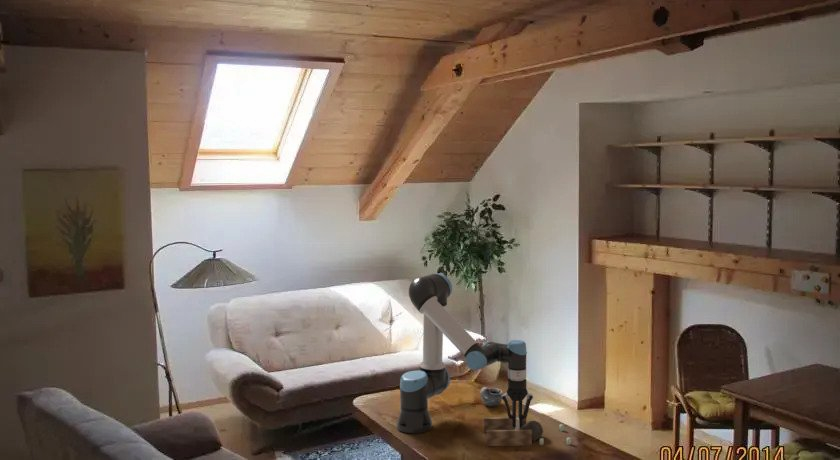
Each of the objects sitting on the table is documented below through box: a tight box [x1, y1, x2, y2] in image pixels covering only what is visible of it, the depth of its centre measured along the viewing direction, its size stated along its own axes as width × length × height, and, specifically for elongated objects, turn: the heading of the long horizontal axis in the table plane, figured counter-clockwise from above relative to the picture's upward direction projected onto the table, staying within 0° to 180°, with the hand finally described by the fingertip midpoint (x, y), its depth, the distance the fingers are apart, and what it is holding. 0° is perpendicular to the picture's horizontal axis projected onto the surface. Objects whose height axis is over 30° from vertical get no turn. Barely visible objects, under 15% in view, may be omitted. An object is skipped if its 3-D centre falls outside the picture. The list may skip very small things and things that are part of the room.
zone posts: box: [538, 423, 572, 446], centre depth 309 cm, size 13×17×2 cm
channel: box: [482, 416, 533, 447], centre depth 309 cm, size 18×16×6 cm
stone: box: [520, 420, 544, 442], centre depth 309 cm, size 10×8×10 cm
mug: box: [479, 386, 503, 408], centre depth 348 cm, size 10×12×10 cm
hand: (517, 434), depth 309 cm, fingers closed
